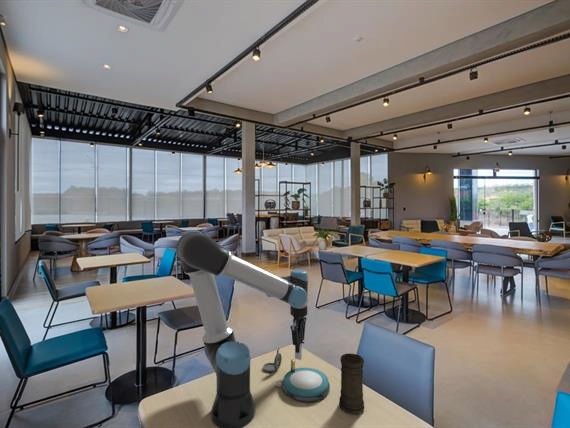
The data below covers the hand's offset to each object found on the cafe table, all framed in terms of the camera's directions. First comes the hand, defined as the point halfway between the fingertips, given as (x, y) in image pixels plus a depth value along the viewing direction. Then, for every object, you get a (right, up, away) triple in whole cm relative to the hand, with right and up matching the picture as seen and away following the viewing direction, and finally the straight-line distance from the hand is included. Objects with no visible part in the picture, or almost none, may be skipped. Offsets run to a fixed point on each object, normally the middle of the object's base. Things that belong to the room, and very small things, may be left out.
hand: (298, 358), depth 136 cm
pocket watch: (-11, -6, +2) cm, 13 cm away
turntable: (+2, -5, -12) cm, 13 cm away
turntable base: (+1, -6, -11) cm, 13 cm away
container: (+18, -7, -23) cm, 30 cm away
